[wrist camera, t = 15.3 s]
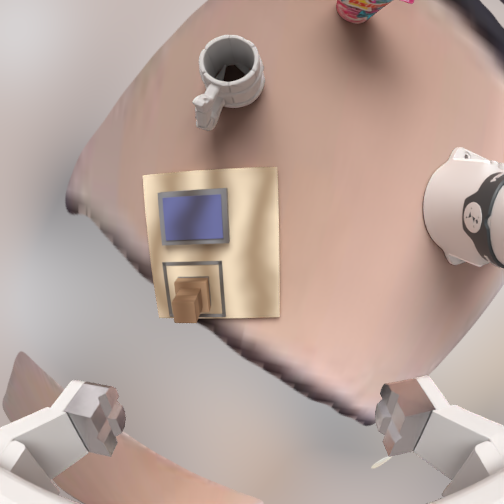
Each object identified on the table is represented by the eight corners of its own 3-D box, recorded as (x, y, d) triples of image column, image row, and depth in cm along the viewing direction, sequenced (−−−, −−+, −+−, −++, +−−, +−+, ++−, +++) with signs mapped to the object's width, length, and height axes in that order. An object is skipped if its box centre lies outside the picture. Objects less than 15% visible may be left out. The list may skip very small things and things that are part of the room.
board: (276, 166, 39) (278, 166, 36) (279, 313, 44) (280, 322, 42) (145, 175, 40) (138, 175, 37) (161, 314, 45) (156, 322, 42)
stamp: (208, 276, 42) (199, 296, 35) (211, 305, 43) (203, 328, 36) (178, 276, 42) (164, 296, 35) (181, 305, 43) (169, 328, 37)
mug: (273, 72, 36) (280, 36, 24) (234, 146, 38) (224, 136, 27) (223, 51, 35) (211, 12, 23) (183, 123, 38) (155, 107, 26)
